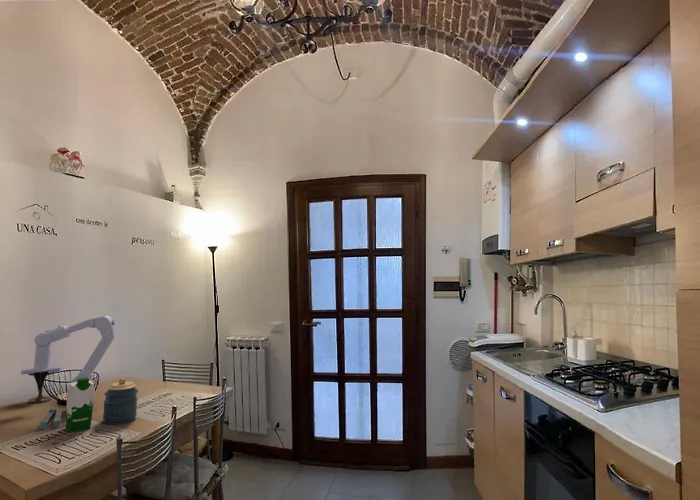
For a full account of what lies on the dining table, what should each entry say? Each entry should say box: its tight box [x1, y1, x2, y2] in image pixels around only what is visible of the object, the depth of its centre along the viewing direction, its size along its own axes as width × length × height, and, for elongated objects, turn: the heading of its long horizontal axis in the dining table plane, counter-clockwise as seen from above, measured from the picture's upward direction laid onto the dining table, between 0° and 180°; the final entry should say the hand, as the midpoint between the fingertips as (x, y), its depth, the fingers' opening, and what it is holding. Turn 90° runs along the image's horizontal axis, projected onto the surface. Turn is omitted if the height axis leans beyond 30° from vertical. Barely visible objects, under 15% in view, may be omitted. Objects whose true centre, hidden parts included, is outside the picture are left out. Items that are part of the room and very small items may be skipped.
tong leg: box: [39, 411, 55, 430], centre depth 171 cm, size 2×16×3 cm, turn 27°
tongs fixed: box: [48, 407, 63, 429], centre depth 173 cm, size 5×20×3 cm, turn 33°
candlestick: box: [27, 330, 56, 404], centre depth 205 cm, size 11×11×35 cm
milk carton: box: [65, 378, 95, 433], centre depth 166 cm, size 9×9×20 cm
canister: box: [102, 377, 139, 425], centre depth 178 cm, size 13×13×18 cm
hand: (39, 389), depth 188 cm, fingers closed
